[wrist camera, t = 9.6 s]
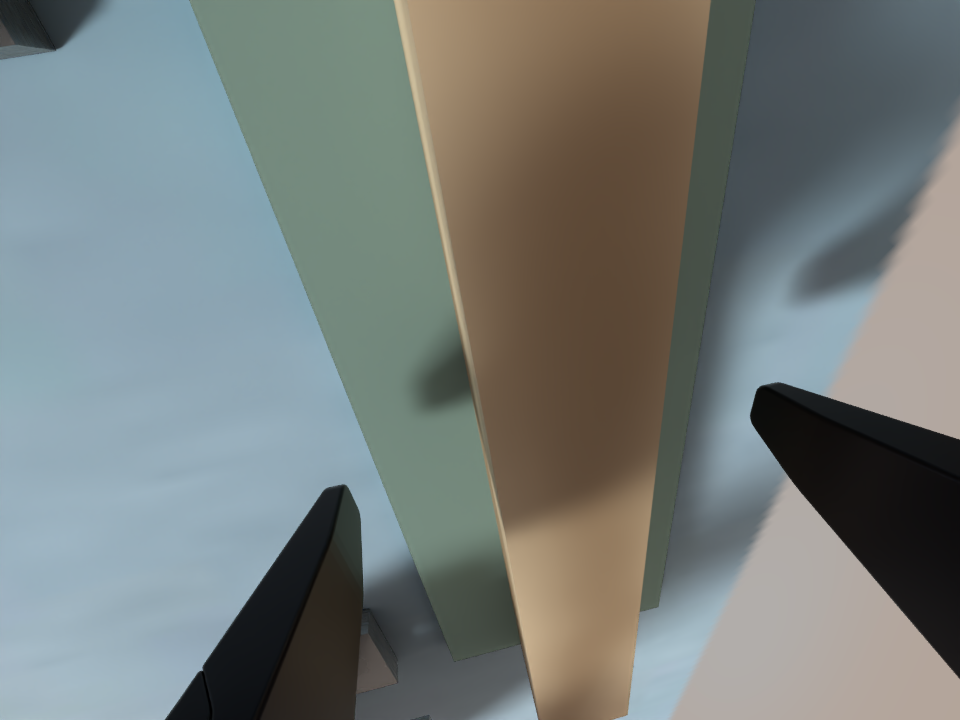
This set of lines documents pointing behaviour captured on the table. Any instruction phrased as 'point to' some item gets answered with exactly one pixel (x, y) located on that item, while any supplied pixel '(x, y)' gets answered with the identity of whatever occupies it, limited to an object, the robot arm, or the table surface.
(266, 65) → the mat
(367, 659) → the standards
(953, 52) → the table surface
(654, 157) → the rail
